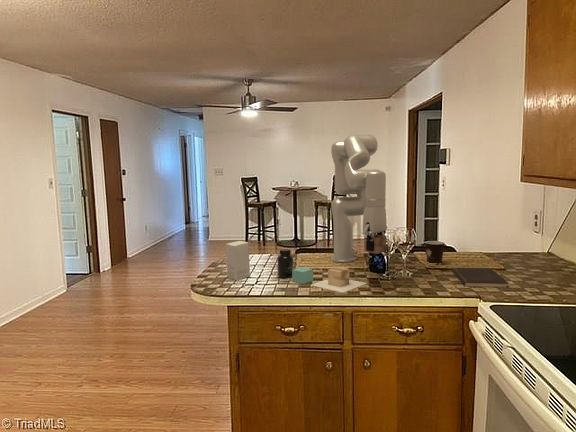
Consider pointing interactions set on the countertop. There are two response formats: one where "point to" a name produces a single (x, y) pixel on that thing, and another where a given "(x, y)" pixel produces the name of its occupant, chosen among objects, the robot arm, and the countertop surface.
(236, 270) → the skincare box
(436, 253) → the coffee mug
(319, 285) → the plate
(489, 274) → the hardcover book
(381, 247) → the walnut cube
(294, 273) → the teal cube
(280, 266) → the supplement bottle
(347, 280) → the oak cube
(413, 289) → the countertop surface
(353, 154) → the robot arm
